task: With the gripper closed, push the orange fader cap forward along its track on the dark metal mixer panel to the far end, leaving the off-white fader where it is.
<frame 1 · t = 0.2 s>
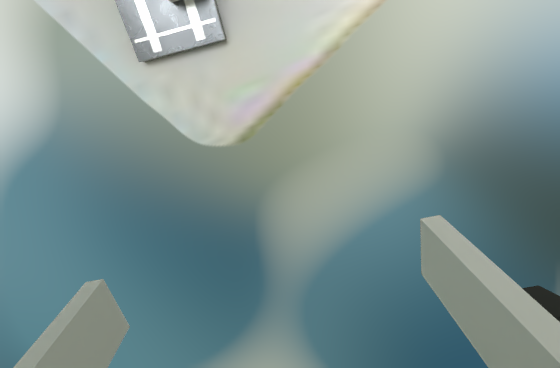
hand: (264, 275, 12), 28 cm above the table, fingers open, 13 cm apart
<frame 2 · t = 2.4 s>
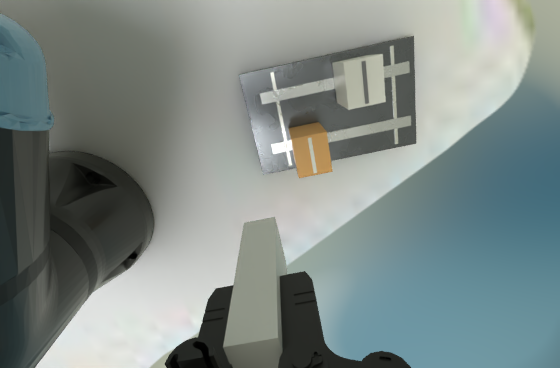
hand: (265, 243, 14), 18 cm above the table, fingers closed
fader orange: (309, 148, 27), point 4 cm above the table, slide at -3.0 cm
fader white: (357, 81, 25), point 4 cm above the table, slide at 2.0 cm
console: (329, 108, 29), on the table
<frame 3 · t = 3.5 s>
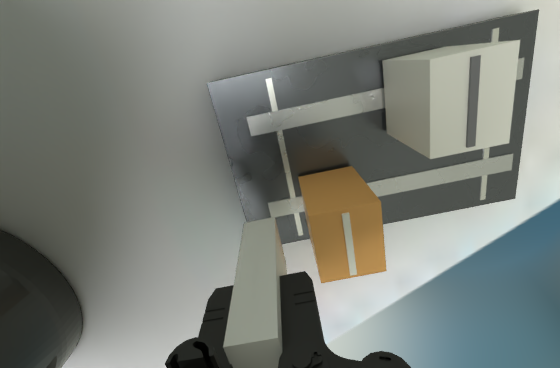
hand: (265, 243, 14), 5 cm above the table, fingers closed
fader orange: (338, 219, 15), point 4 cm above the table, slide at -3.0 cm
fader white: (439, 97, 12), point 4 cm above the table, slide at 2.0 cm
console: (367, 139, 17), on the table
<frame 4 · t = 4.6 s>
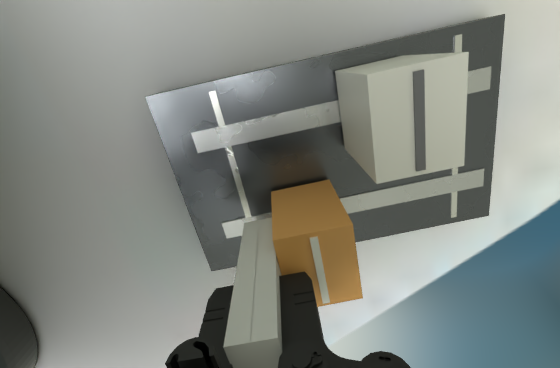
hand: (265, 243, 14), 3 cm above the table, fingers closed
fader orange: (312, 239, 13), point 4 cm above the table, slide at -2.0 cm, touching gripper
fader white: (392, 112, 11), point 4 cm above the table, slide at 2.0 cm
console: (329, 153, 16), on the table
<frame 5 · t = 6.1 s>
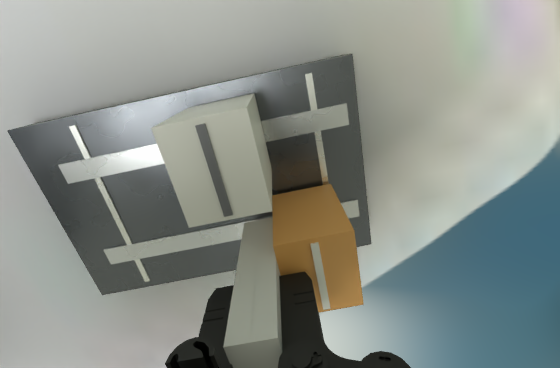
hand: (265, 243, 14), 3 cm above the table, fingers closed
fader orange: (313, 244, 13), point 4 cm above the table, slide at 4.7 cm, touching gripper
fader white: (225, 153, 11), point 4 cm above the table, slide at 2.0 cm
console: (213, 182, 16), on the table
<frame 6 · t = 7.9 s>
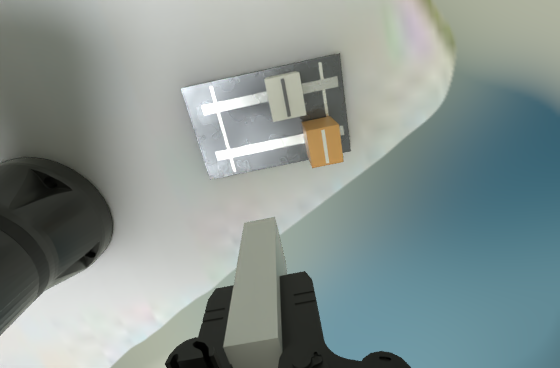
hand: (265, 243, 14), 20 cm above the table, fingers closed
fader orange: (321, 141, 29), point 4 cm above the table, slide at 4.7 cm
fader white: (284, 95, 27), point 4 cm above the table, slide at 2.0 cm
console: (269, 118, 32), on the table
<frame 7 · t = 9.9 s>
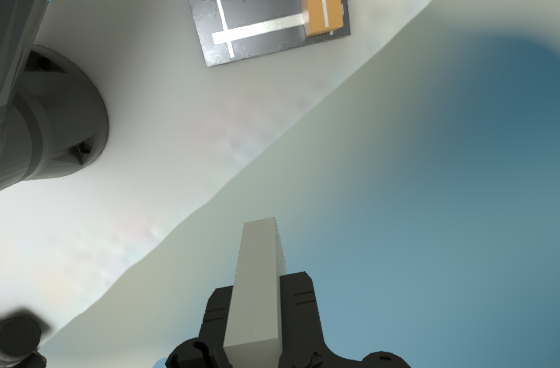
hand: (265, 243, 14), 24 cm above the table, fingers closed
fader orange: (320, 11, 28), point 4 cm above the table, slide at 4.7 cm
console: (268, 1, 31), on the table
camera: (20, 329, 48), on the table
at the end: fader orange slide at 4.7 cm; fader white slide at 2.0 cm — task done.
